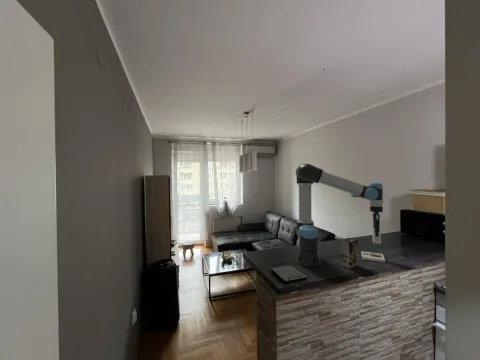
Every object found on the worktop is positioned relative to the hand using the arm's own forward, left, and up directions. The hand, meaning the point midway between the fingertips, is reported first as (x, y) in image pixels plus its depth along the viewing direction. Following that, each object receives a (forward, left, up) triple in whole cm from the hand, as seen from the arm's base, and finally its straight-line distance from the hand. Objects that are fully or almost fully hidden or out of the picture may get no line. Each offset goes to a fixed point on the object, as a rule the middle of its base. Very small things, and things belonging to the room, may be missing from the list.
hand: (376, 239), depth 151 cm
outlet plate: (-2, -1, -12) cm, 13 cm away
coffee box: (-17, -21, -13) cm, 30 cm away
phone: (-14, +2, -13) cm, 19 cm away
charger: (0, 0, -2) cm, 2 cm away
